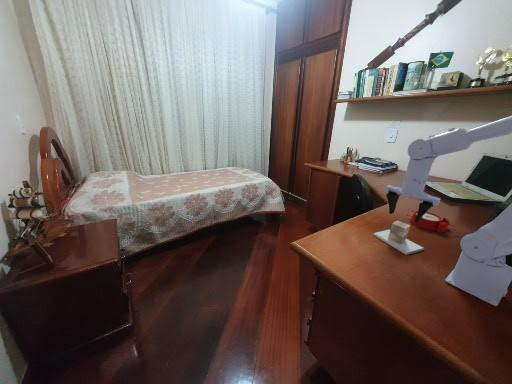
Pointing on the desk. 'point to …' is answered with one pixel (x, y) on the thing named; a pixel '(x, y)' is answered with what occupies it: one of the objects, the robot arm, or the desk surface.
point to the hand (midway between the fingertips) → (403, 217)
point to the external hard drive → (404, 247)
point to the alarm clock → (431, 222)
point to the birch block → (398, 232)
